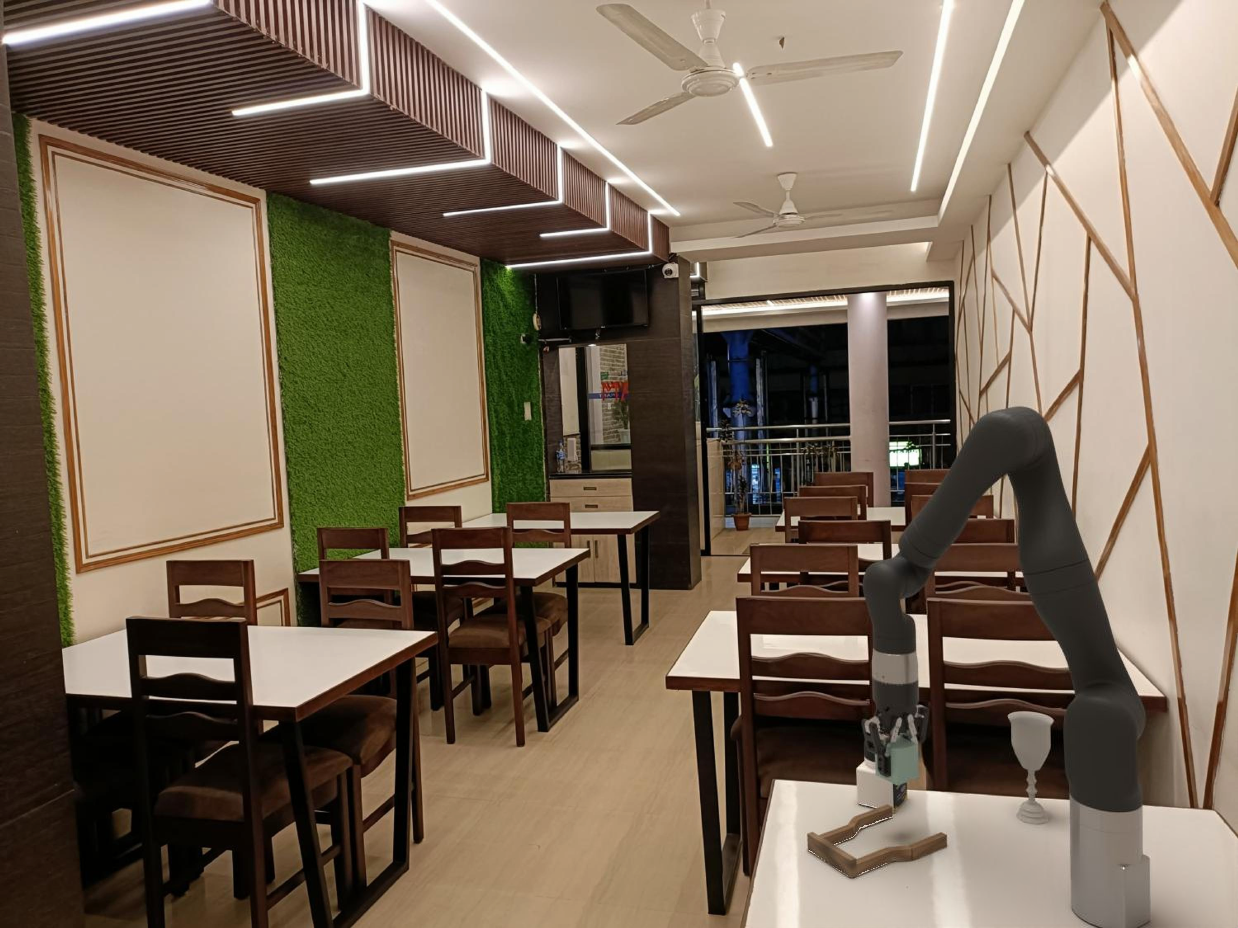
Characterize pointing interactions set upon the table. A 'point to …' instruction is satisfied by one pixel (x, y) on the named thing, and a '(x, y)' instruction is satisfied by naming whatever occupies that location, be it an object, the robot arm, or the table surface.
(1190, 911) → the table surface
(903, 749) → the teal block
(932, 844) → the keyhole rail
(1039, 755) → the chalice
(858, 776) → the medicine bottle
